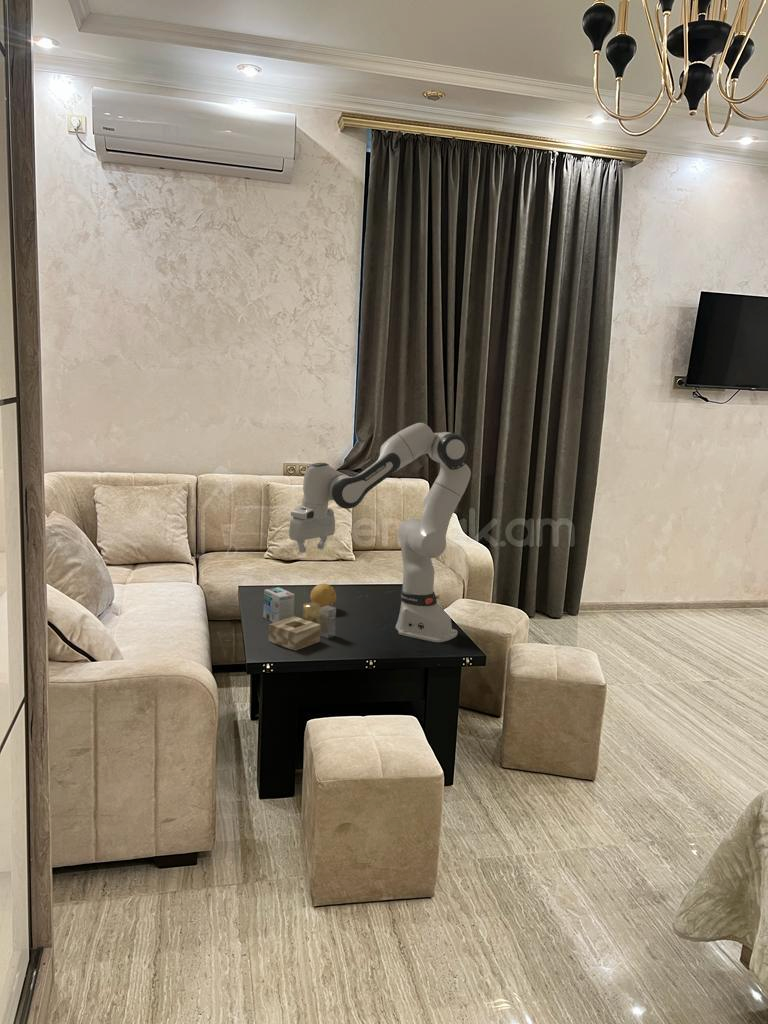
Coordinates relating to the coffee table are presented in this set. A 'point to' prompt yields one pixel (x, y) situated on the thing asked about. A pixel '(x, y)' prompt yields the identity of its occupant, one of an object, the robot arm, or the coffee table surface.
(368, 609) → the coffee table surface
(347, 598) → the coffee table surface
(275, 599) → the light bulb box
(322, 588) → the stress ball
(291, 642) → the socket block
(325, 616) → the square bit
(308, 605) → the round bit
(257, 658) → the coffee table surface
